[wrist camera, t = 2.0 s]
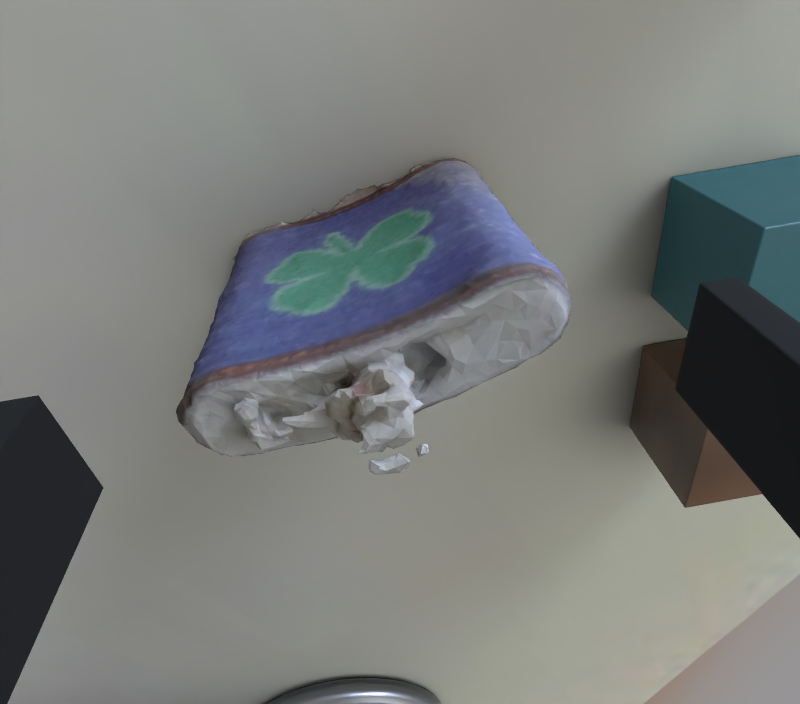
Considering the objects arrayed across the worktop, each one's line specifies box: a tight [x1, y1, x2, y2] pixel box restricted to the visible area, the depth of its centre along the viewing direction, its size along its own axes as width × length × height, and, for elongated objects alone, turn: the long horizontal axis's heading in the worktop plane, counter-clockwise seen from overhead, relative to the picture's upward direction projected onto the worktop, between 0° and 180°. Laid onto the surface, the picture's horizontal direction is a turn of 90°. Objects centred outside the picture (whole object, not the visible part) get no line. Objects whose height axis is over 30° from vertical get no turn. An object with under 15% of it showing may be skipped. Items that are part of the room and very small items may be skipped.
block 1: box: [652, 155, 800, 331], centre depth 19 cm, size 5×5×5 cm
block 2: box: [630, 338, 762, 508], centre depth 23 cm, size 5×5×5 cm
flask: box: [176, 158, 571, 474], centre depth 15 cm, size 9×3×11 cm, turn 109°
